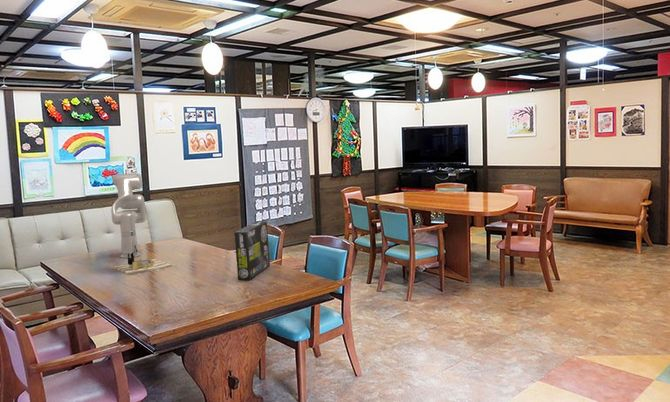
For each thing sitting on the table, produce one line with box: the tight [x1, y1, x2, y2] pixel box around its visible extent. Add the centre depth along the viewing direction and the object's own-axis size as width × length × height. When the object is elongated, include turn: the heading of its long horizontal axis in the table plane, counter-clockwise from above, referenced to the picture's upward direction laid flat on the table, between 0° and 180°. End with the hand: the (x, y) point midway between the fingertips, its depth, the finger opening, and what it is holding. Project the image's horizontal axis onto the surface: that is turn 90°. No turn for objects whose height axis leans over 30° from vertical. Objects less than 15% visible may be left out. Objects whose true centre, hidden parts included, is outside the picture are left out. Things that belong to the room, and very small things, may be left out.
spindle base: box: [112, 258, 173, 276], centre depth 323 cm, size 26×26×4 cm
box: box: [233, 221, 271, 281], centre depth 296 cm, size 34×7×27 cm, turn 168°
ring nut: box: [130, 258, 155, 270], centre depth 320 cm, size 14×19×5 cm
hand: (131, 264), depth 314 cm, fingers closed
